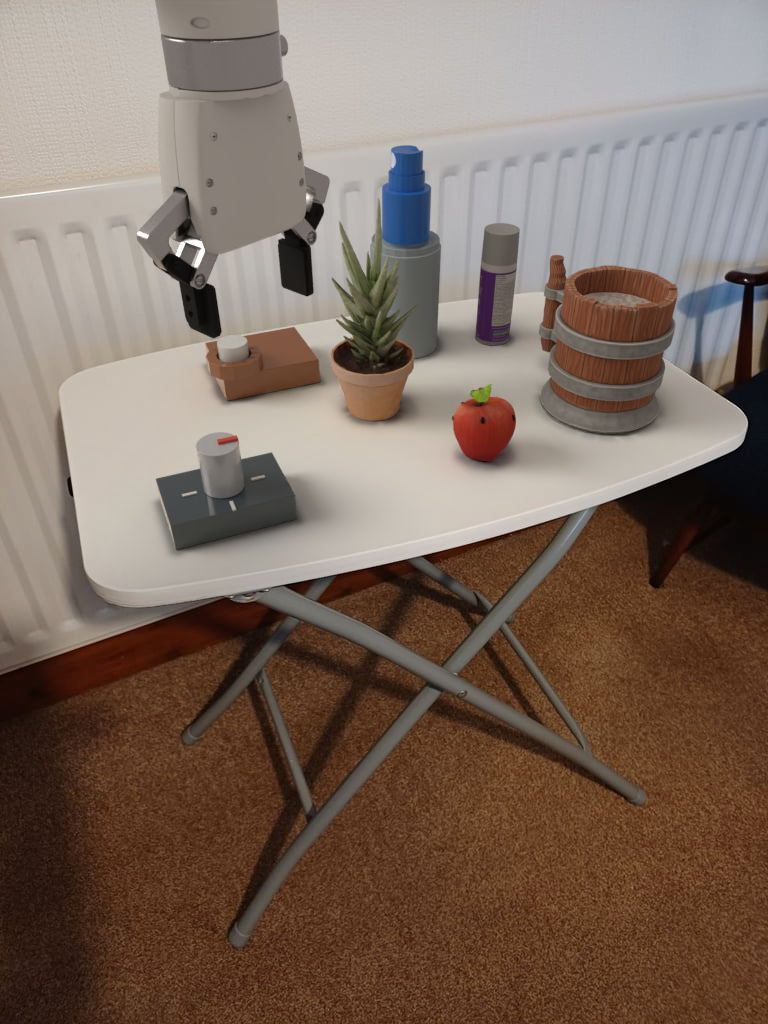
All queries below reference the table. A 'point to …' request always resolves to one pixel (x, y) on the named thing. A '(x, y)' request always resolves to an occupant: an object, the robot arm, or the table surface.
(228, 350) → the white cylindrical plug
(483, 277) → the container
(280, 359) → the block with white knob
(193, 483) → the panel
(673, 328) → the mug
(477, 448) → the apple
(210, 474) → the tap knob
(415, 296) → the spray bottle
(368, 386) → the potted plant
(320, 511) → the table surface
